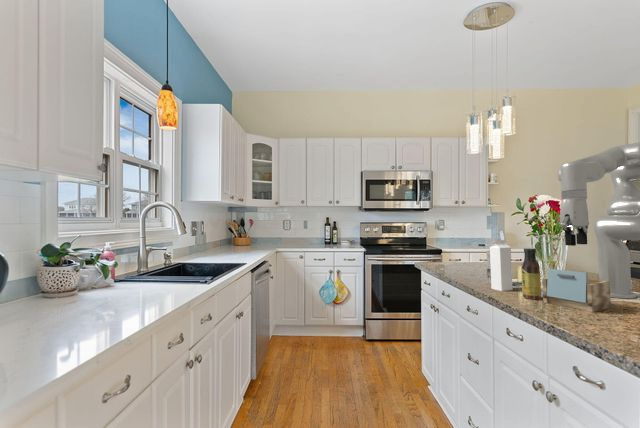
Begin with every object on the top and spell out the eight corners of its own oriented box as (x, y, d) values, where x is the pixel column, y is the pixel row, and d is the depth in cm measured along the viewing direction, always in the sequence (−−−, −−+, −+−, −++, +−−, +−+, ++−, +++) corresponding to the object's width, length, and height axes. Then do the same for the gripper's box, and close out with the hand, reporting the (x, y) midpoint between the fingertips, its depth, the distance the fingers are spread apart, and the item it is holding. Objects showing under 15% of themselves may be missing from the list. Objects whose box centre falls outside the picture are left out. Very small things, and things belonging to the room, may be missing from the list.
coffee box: (498, 285, 159) (497, 251, 159) (487, 283, 165) (485, 250, 165) (512, 283, 162) (510, 250, 163) (500, 281, 168) (498, 249, 169)
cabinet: (562, 298, 131) (561, 275, 131) (610, 307, 117) (609, 281, 117) (542, 302, 126) (541, 278, 126) (591, 312, 112) (590, 285, 112)
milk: (512, 290, 149) (511, 240, 149) (501, 291, 147) (500, 240, 147) (501, 287, 154) (500, 239, 155) (490, 288, 153) (489, 240, 153)
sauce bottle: (524, 295, 137) (521, 247, 138) (542, 297, 133) (540, 247, 134) (521, 299, 132) (519, 248, 133) (540, 301, 128) (537, 248, 129)
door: (545, 295, 124) (548, 295, 125) (584, 302, 113) (587, 302, 114) (546, 268, 125) (549, 268, 125) (584, 272, 114) (587, 272, 114)
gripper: (575, 196, 130) (578, 243, 130) (549, 196, 123) (551, 245, 122) (598, 195, 124) (601, 243, 123) (572, 194, 116) (574, 246, 116)
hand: (576, 244), depth 123 cm, fingers open, 6 cm apart
